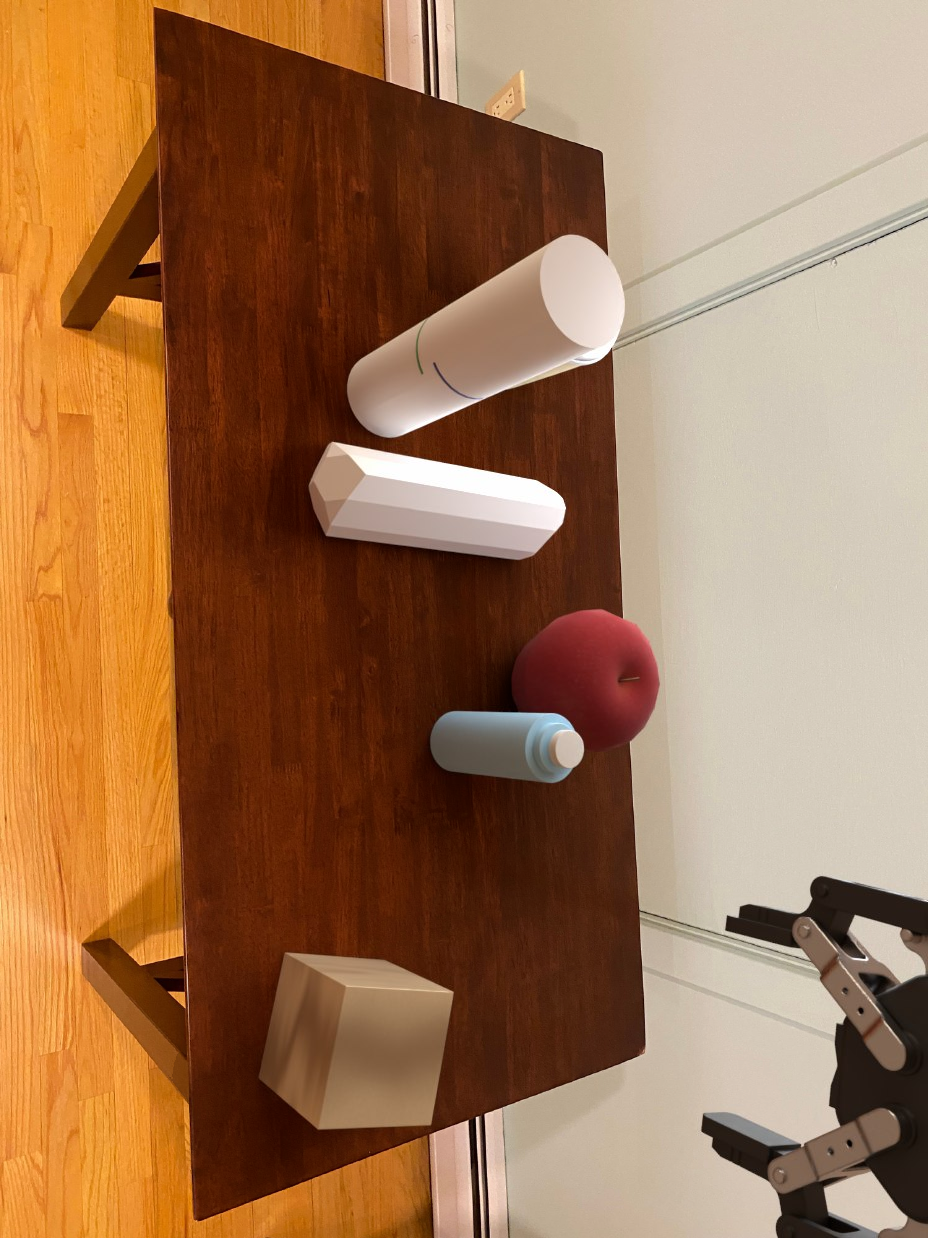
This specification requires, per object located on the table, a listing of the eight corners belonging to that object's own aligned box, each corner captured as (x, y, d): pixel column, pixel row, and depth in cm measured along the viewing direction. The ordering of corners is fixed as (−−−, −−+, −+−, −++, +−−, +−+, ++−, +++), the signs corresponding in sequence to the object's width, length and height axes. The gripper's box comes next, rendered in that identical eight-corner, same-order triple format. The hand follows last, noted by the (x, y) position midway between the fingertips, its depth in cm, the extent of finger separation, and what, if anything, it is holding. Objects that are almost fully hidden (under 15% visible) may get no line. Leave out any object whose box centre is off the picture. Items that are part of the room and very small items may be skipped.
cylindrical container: (379, 453, 78) (579, 367, 58) (331, 379, 76) (520, 263, 56) (434, 411, 82) (640, 316, 61) (389, 339, 80) (588, 216, 59)
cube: (362, 1078, 74) (431, 1126, 65) (257, 1078, 69) (317, 1130, 60) (384, 960, 75) (454, 992, 67) (284, 952, 71) (345, 985, 62)
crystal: (561, 457, 85) (321, 406, 71) (587, 518, 81) (341, 477, 68) (517, 508, 90) (285, 470, 76) (540, 568, 86) (302, 539, 72)
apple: (499, 600, 85) (600, 586, 74) (591, 638, 91) (697, 630, 80) (471, 729, 82) (572, 734, 71) (568, 759, 88) (674, 768, 77)
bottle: (473, 776, 82) (590, 790, 69) (424, 765, 79) (537, 778, 66) (484, 717, 83) (600, 721, 70) (436, 705, 80) (548, 707, 68)
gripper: (1096, 924, 29) (689, 851, 42) (1076, 1457, 26) (646, 1197, 39) (1190, 942, 33) (792, 871, 46) (1182, 1404, 30) (759, 1185, 43)
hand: (725, 1021), depth 42 cm, fingers open, 8 cm apart
